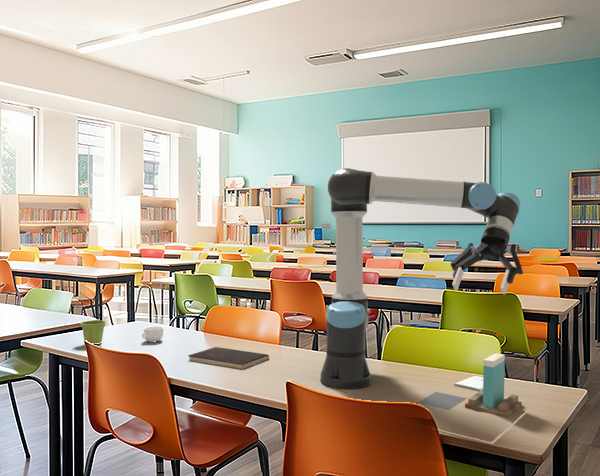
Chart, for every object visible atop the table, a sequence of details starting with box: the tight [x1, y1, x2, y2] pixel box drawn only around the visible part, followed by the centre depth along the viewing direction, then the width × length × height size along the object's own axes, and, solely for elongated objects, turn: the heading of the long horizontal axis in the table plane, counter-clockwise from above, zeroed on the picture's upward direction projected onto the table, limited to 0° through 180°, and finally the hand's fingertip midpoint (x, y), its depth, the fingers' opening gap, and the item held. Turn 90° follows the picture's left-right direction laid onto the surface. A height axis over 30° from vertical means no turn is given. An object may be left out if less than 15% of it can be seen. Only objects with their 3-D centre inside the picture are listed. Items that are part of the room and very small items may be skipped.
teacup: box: [141, 325, 164, 343], centre depth 221 cm, size 10×8×5 cm
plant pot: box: [80, 319, 107, 344], centre depth 216 cm, size 9×9×9 cm
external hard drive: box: [453, 375, 483, 392], centre depth 164 cm, size 2×8×12 cm
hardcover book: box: [187, 346, 270, 370], centre depth 193 cm, size 16×23×2 cm
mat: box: [416, 391, 468, 410], centre depth 148 cm, size 12×9×1 cm
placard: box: [482, 353, 506, 409], centre depth 143 cm, size 9×2×12 cm, turn 143°
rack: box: [464, 390, 523, 417], centre depth 144 cm, size 11×11×3 cm
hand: (478, 289), depth 153 cm, fingers open, 13 cm apart
